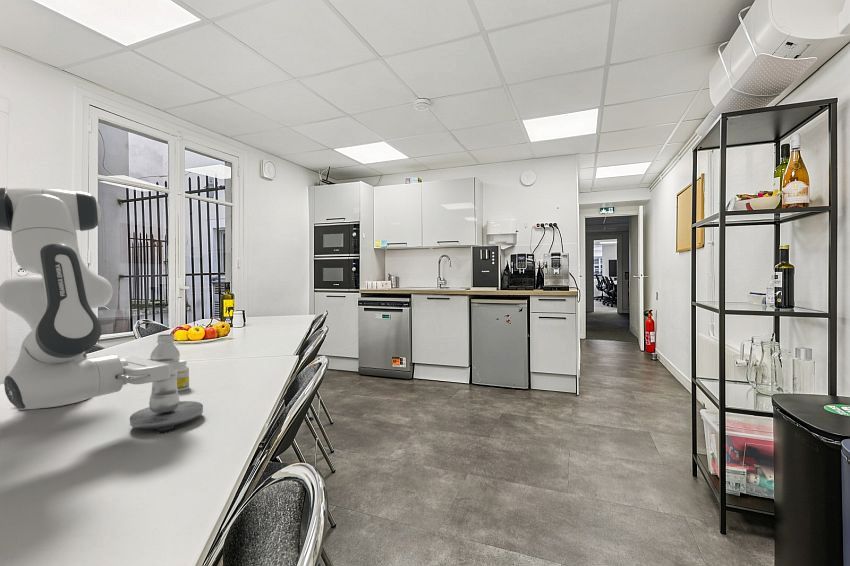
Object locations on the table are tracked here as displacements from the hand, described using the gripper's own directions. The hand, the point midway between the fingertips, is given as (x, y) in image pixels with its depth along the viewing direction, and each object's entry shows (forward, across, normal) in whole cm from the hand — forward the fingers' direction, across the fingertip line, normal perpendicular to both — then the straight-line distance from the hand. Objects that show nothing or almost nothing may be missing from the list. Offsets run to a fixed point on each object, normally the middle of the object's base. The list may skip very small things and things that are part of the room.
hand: (170, 362), depth 103 cm
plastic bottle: (-2, 0, +13) cm, 13 cm away
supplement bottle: (+17, +29, +16) cm, 37 cm away
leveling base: (-1, 0, +16) cm, 16 cm away
